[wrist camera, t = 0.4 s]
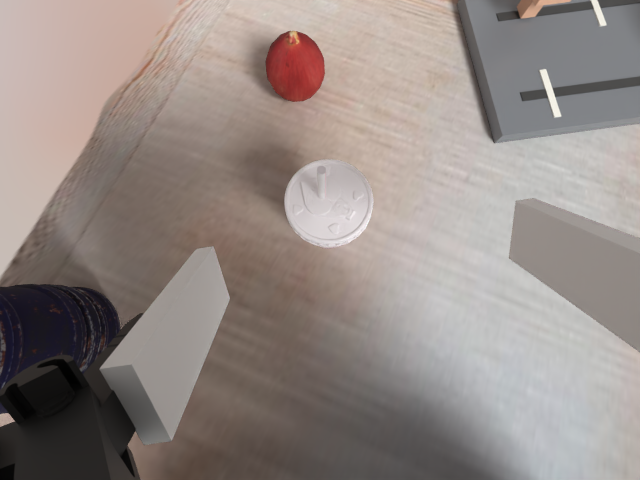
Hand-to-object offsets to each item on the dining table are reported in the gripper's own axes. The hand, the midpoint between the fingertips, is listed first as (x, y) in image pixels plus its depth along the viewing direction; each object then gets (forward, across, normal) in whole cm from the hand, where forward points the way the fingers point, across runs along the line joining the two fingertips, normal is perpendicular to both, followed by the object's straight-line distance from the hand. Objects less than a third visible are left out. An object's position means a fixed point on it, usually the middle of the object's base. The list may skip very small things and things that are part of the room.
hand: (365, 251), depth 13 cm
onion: (+26, +2, -8) cm, 27 cm away
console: (+26, -32, -7) cm, 42 cm away
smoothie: (+17, +1, +5) cm, 18 cm away
